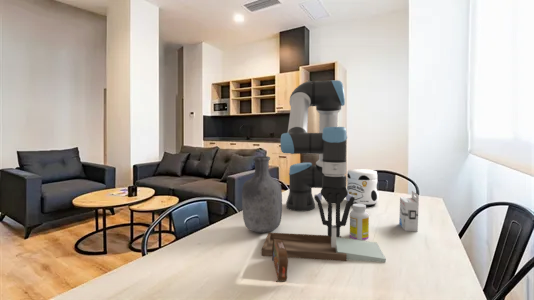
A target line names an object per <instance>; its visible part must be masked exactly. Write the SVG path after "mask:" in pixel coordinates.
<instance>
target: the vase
mask: <svg viewBox="0 0 534 300" xmlns="http://www.w3.org/2000/svg"><path fill="white" fill-rule="evenodd" d="M252 157H253V158H252V160H253V161H254V174H253V176H252V177H251V178H250V179H248V180H245V182H244V183H243V186H242V194H241V197H242V198H241V200H242V201H241V203H242V204H241V205H242V206H241V207H242V217H243V218H242V219H243V223H244V225H245V227H246V228H247V229H248V230H249V231H252V232H255V233H261V234H262V233H263V234H264V233H271V232H273V231H274V230H276V229H278V228H279V226H280V225H281V222H282V215H283V214H282V212H283V193H282V185H281V183H280V182H279V181H278V180H277V179H275V178H273V177H272V176H271V174H270V171H269V169H270V168H269V166H270V164H269V163H270V160H271V157H270V156H269V155H268V156H266V155H260V156H252Z"/></svg>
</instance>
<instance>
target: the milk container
mask: <svg viewBox="0 0 534 300" xmlns="http://www.w3.org/2000/svg"><path fill="white" fill-rule="evenodd" d="M346 175H347V176H346V190H347V192H348V194H349V195H351V196H353V197H354V198H355V200H354V201H353V203H352V204H351V205H353V204H364V205H366V207H368V206H369V207H370V206H375V205H376V204H378V202H379V198H380V193H379V190H378V171H376V170H372V169H361V168H359V169H357V168H356V169H348V170H347V172H346ZM346 198H347V197H345V199H346Z"/></svg>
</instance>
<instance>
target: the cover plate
mask: <svg viewBox="0 0 534 300" xmlns="http://www.w3.org/2000/svg"><path fill="white" fill-rule="evenodd" d="M335 249H336V253H346V254H347V259H346V261H347V260H348V261H349V260H350V261H361V262H376V263H377V262H378V263H386V261H387V258H386V257H385V255H384V253H383V250H382V249H381V247H380V246H379V244H378V243H377V242H376V241H375V242H374V241H368V240H367V241H366V240H356V239H353V238H347V237H346V238H344V237H341V238H340V237H336V248H335Z"/></svg>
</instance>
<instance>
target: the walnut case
mask: <svg viewBox="0 0 534 300" xmlns="http://www.w3.org/2000/svg"><path fill="white" fill-rule="evenodd" d="M339 237H340V238H342V236H341V235H340V236H339ZM274 239H278V240H282V241H283V243H284V245H285V248H286V251H287V256H288V259H305V260H306V259H307V260H321V261H323V260H324V261H338V262H347V254H346V253H336V249H335V248H334V247H331V236H328V234H327V235H325V234H323V235H322V234H306V233H305V234H304V233H286V232H267V235H266V238H265V240H264V243H263V245H262V247H261V250H260V251H261V252H260V253H261V256H262V257H272V245H273V240H274Z"/></svg>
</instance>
